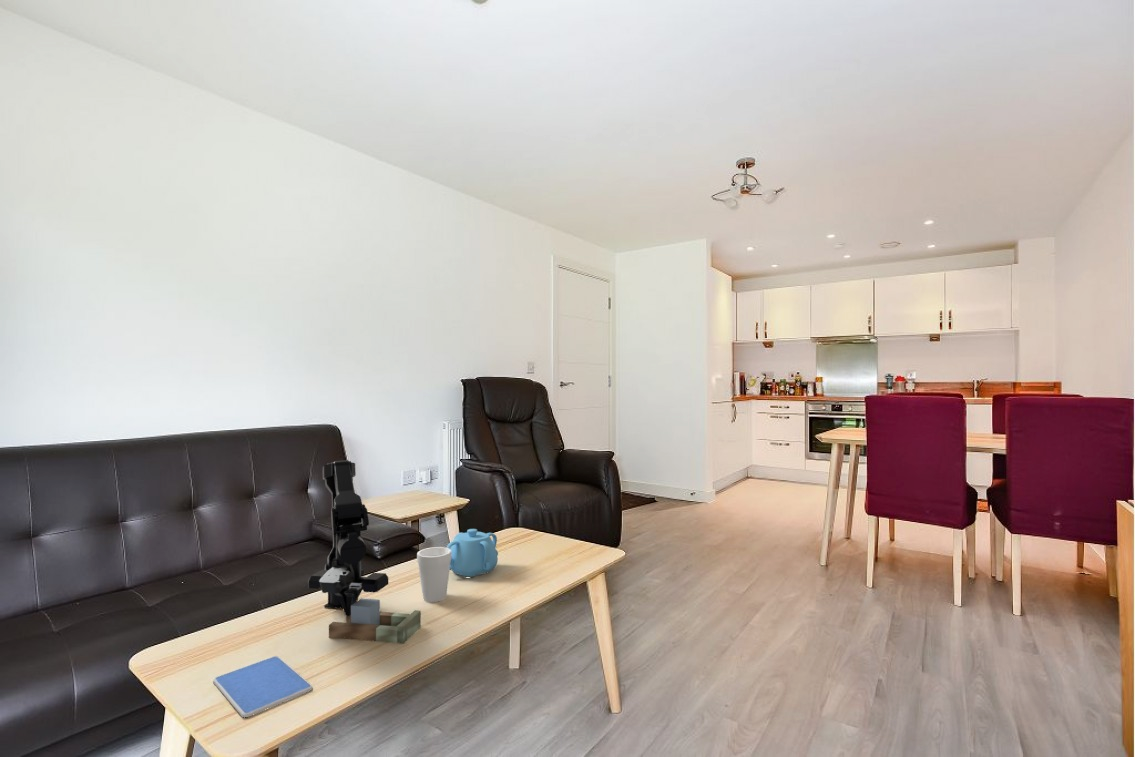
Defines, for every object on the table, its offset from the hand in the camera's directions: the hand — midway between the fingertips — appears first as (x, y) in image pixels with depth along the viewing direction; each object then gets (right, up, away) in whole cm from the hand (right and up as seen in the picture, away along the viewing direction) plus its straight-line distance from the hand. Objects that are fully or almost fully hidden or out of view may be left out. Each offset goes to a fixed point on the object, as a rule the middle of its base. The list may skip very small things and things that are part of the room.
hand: (348, 615), depth 130 cm
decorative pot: (+23, -4, +40) cm, 47 cm away
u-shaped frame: (+6, -4, -1) cm, 7 cm away
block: (+5, -4, -1) cm, 6 cm away
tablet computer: (-8, -4, -24) cm, 25 cm away
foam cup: (+16, -4, +19) cm, 26 cm away
